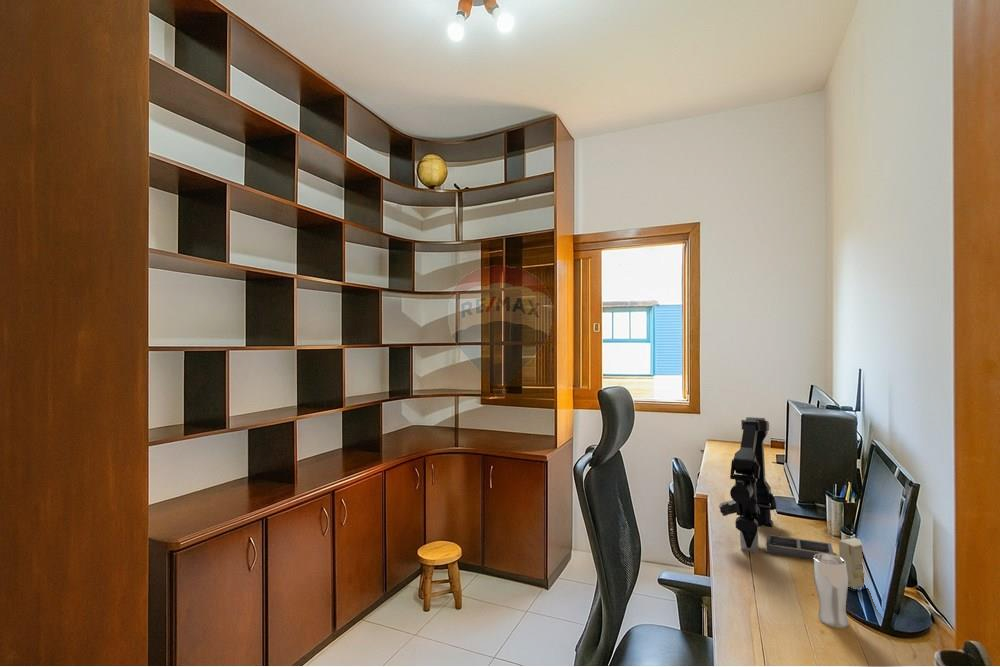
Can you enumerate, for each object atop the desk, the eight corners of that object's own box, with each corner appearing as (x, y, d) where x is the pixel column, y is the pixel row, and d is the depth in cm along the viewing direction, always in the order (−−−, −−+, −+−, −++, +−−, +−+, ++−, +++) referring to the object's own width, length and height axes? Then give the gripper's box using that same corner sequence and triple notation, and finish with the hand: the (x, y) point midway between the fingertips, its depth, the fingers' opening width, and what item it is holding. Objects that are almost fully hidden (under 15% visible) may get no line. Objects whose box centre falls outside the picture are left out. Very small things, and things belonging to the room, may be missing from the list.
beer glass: (836, 612, 120) (832, 552, 121) (858, 628, 113) (854, 564, 114) (809, 614, 120) (805, 553, 120) (829, 630, 113) (825, 566, 113)
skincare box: (855, 592, 129) (852, 546, 129) (840, 584, 133) (837, 540, 134) (873, 587, 131) (870, 542, 131) (857, 580, 135) (854, 536, 135)
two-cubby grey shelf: (767, 541, 163) (767, 534, 163) (831, 551, 154) (831, 543, 154) (766, 552, 155) (766, 545, 155) (834, 563, 145) (833, 555, 145)
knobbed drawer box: (741, 544, 162) (740, 523, 162) (758, 546, 159) (757, 526, 160) (740, 549, 158) (739, 529, 158) (758, 552, 155) (756, 531, 155)
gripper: (723, 484, 171) (725, 528, 171) (717, 500, 155) (719, 548, 155) (758, 488, 166) (761, 533, 165) (755, 504, 149) (758, 555, 149)
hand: (749, 542), depth 159 cm, fingers open, 9 cm apart
